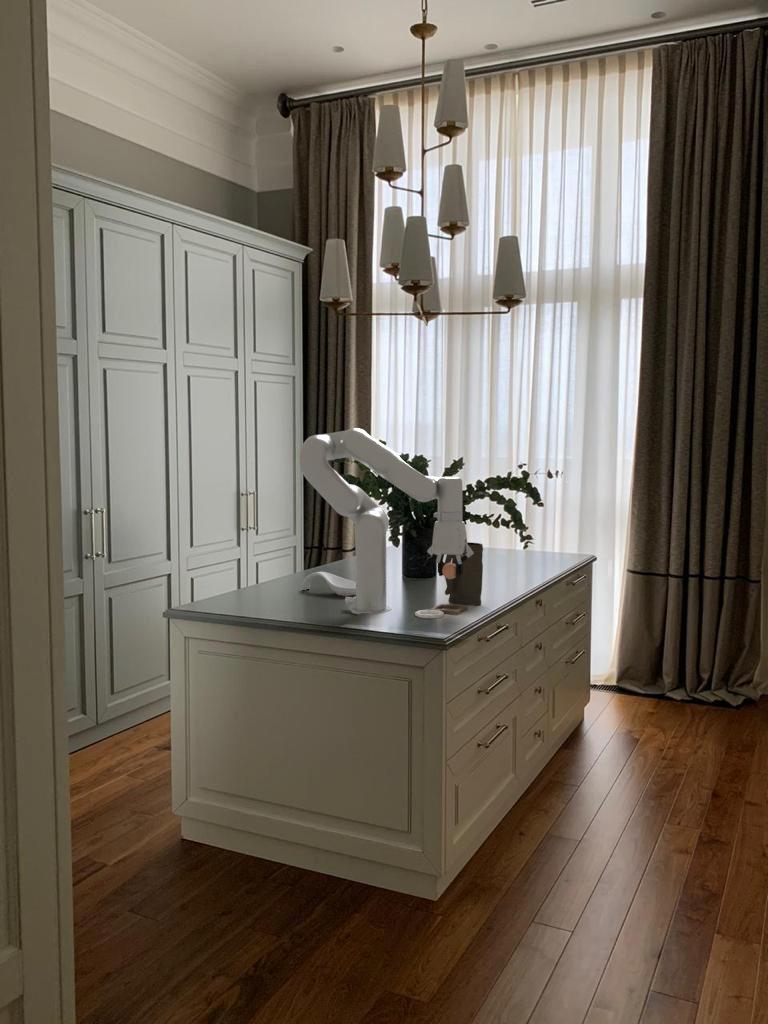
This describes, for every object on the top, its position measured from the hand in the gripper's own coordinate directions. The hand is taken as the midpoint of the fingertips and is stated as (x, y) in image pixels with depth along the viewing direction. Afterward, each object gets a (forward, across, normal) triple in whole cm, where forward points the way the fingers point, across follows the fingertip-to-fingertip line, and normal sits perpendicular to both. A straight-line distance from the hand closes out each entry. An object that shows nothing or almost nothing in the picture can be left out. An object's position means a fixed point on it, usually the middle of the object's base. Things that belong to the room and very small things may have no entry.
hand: (450, 575), depth 282 cm
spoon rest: (+12, -49, +16) cm, 53 cm away
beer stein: (+12, -1, +15) cm, 20 cm away
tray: (+12, 0, 0) cm, 12 cm away
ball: (+1, 0, 0) cm, 1 cm away
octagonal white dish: (+12, -3, -9) cm, 15 cm away
